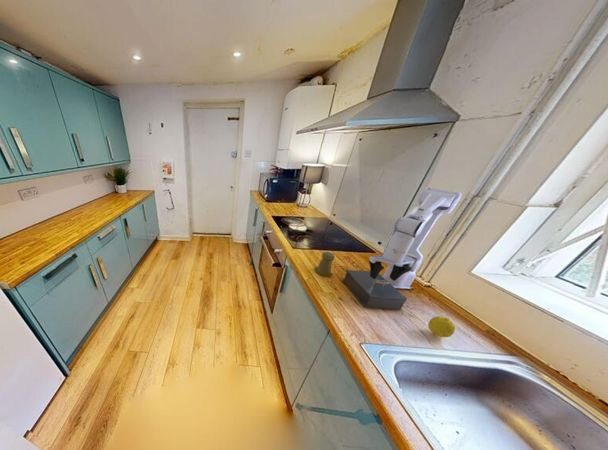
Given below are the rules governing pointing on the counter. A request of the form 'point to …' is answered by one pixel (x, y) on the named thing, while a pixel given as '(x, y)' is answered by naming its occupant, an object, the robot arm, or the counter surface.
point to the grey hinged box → (372, 302)
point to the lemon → (441, 326)
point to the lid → (375, 285)
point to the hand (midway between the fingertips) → (382, 278)
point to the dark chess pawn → (325, 264)
